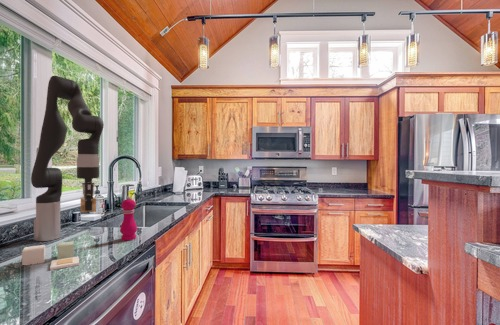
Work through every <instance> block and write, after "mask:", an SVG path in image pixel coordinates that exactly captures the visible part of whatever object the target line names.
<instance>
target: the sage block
mask: <svg viewBox="0 0 500 325" xmlns="http://www.w3.org/2000/svg"><path fill="white" fill-rule="evenodd" d="M71 257H75V241H74V240H73V241H65V242H64V241H63V242H58V243H57V260H59V259H65V258H71Z"/></svg>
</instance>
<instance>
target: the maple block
mask: <svg viewBox="0 0 500 325" xmlns="http://www.w3.org/2000/svg"><path fill="white" fill-rule="evenodd" d="M91 212H92V213H93V212H95V213H96V212H97V198H96V196H93V200H92V210H90V211H86V210H85V198H84V197H81V198H80V213H91Z"/></svg>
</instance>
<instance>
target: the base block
mask: <svg viewBox="0 0 500 325" xmlns="http://www.w3.org/2000/svg"><path fill="white" fill-rule="evenodd" d="M45 259H46V244H40V245H33V246H32V245H31V246H27V247H26V246H25V247H23V250H22V251H21V266H22V265H26V266H30V264H32V265H36V264H37V263H38V264H43V263H45Z"/></svg>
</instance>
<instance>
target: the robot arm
mask: <svg viewBox="0 0 500 325" xmlns="http://www.w3.org/2000/svg"><path fill="white" fill-rule="evenodd" d="M47 83H48V86H47V92H46V103H45V110H44V116H43V122H42V126H41V130H40V135H39V136H40V137H39V144H38V149H37V153H36V158H35V160H34V164H33V168H32V171H31V175H30V176H31V177H30V181H31V184H32V186H33V187H34V188H35V189H46V188H47V190H46V191H44V192H43V193H42V194H40V195H37V196H36V197H35V218H34V219H33V241H37V242H47V241H49V242H50V241H53V240H58V239H60V238H61V197H62V193H63V172H62V170H61V169H60V168H59V167H48V166H49V163H50V160H51V159H52V158H53V156H55V154H56V153H57V152H58V151H60V149H61V148H62V147H63V145H64V143H65V141H66V136H67V130H68V129H67V125H66V123H65V121H64V118H63V117H62V115H61V113H60V110H59V106H58V99H63V100H65V101H68V103H67V111H68V112H69V114H70V115H71V118H72V119H71V120H72V128H73V130H74V131H75V132H77V133H81V134H82V133H83V134H91V135H90V137H89V138H81V139H79V140H78V141H77V157H76V158H77V159H76V178H77V179H81V180H82V179H84V182H82V183H81V187H82V195H83V198H85V210H86V211H90V210H92V200H93V197H94V193H95V190H94V188H95V182H93V179H99V177H100V157H99V146H100V145H99V144H100V141H101V140H100V139H101V137H102V133H103V131H104V130H103V129H104V121H103V118H102V117H100V116H97V115H93V113H92V110H91V109H90V107H88V105H87V103H86V102H85V100H84V97H83V93H82V90H81V88H80V85H79V83H78V82H77V81H75V80H73V79H70V78H66V77H61V76H59V75H52V76H50V78H49V80H48V82H47Z"/></svg>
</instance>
